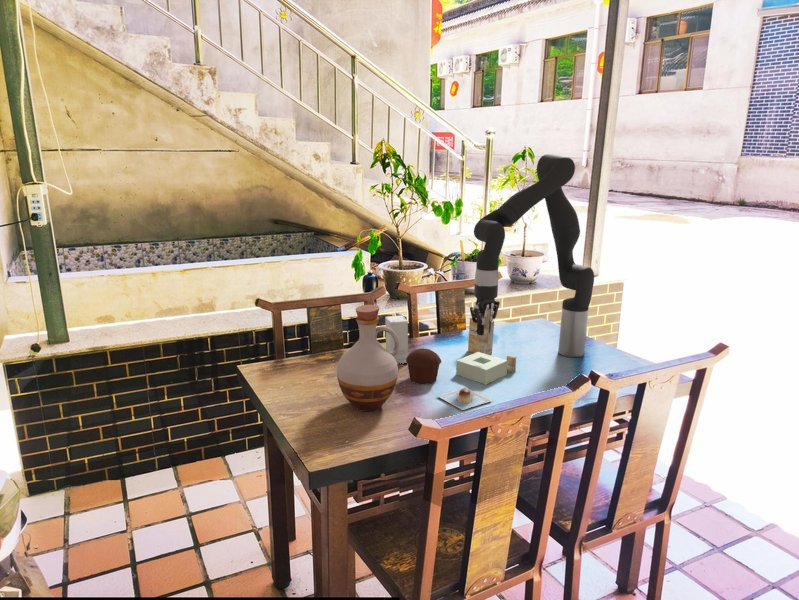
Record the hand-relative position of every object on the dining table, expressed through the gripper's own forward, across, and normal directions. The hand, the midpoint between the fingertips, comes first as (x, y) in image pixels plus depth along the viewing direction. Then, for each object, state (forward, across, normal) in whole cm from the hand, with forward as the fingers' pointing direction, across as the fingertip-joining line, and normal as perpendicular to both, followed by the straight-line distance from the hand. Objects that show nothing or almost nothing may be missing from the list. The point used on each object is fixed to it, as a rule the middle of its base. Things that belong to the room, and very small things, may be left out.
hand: (483, 333), depth 198 cm
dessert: (+15, +20, +8) cm, 27 cm away
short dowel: (+15, -10, +5) cm, 18 cm away
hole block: (+15, 0, 0) cm, 15 cm away
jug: (+15, +43, -9) cm, 46 cm away
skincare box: (+15, +11, -29) cm, 34 cm away
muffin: (+15, +17, -11) cm, 25 cm away
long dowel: (+4, 0, 0) cm, 4 cm away
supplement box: (+15, -17, -13) cm, 26 cm away
